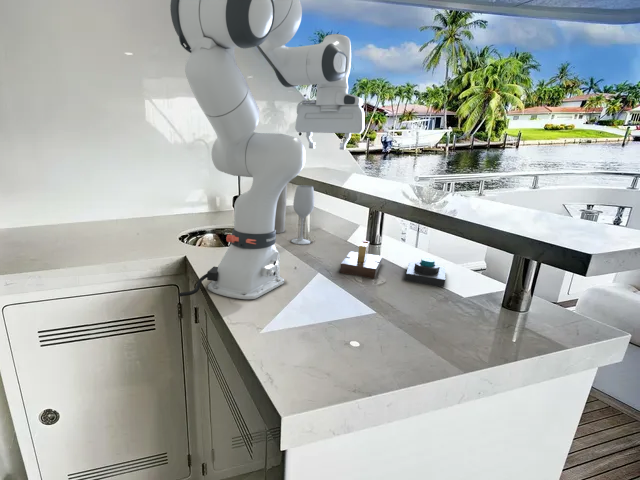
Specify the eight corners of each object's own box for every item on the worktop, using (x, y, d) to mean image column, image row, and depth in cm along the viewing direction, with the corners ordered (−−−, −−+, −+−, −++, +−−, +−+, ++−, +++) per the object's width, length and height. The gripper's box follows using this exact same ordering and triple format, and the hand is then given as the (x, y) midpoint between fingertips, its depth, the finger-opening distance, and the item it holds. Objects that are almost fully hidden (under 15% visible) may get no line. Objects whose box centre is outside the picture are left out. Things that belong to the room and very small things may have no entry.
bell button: (433, 268, 108) (435, 262, 108) (420, 266, 110) (421, 260, 109) (434, 264, 111) (435, 259, 111) (420, 262, 113) (421, 257, 112)
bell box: (443, 287, 105) (446, 273, 103) (405, 280, 109) (407, 267, 107) (443, 273, 115) (446, 261, 113) (408, 268, 119) (410, 256, 118)
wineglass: (312, 244, 142) (317, 188, 135) (291, 244, 142) (295, 187, 135) (309, 239, 149) (313, 185, 142) (289, 238, 149) (293, 184, 142)
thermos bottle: (261, 230, 160) (264, 162, 151) (272, 227, 166) (276, 161, 157) (277, 234, 156) (281, 163, 146) (288, 230, 161) (292, 162, 152)
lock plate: (374, 278, 110) (376, 268, 108) (339, 272, 114) (340, 262, 113) (381, 265, 121) (382, 255, 120) (349, 259, 126) (350, 250, 125)
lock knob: (363, 262, 114) (366, 245, 112) (357, 261, 114) (359, 244, 113) (367, 257, 119) (369, 241, 117) (360, 256, 120) (362, 240, 118)
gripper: (294, 99, 113) (291, 147, 117) (365, 98, 104) (358, 150, 109) (300, 101, 118) (297, 147, 123) (368, 100, 110) (362, 149, 114)
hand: (326, 148), depth 116 cm, fingers open, 8 cm apart
